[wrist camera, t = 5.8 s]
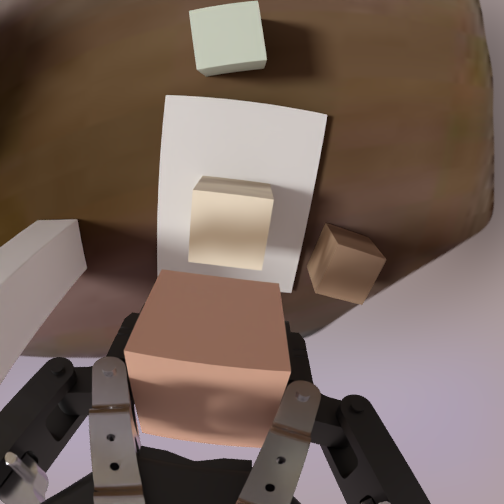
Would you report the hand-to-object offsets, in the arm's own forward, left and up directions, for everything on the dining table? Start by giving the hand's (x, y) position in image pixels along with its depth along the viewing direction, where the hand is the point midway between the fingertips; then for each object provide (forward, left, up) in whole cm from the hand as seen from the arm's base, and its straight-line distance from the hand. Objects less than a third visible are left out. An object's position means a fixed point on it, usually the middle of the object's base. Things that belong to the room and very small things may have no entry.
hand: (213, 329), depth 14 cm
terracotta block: (0, 0, 0) cm, 0 cm away
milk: (+6, -19, -17) cm, 26 cm away
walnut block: (+3, +11, -17) cm, 21 cm away
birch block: (0, 0, -16) cm, 16 cm away
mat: (-1, 0, -17) cm, 17 cm away
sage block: (-15, -2, -17) cm, 23 cm away
